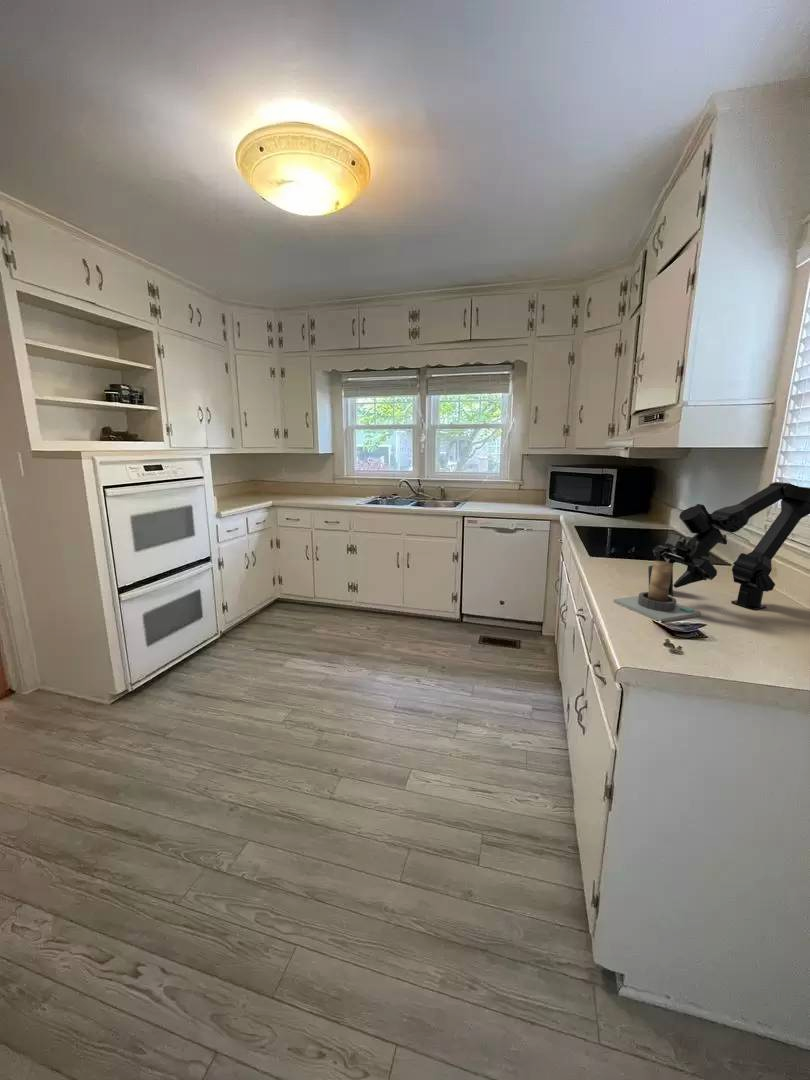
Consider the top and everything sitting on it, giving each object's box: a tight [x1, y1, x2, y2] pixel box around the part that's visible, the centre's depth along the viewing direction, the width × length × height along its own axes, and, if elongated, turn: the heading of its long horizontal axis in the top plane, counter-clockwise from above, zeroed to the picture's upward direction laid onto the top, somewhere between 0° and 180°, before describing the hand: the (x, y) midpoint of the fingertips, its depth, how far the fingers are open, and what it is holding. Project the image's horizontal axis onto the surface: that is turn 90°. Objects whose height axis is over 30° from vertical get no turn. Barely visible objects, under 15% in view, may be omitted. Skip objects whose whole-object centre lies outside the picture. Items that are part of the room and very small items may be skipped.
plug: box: [647, 560, 674, 602], centre depth 125 cm, size 5×5×13 cm
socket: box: [613, 591, 702, 622], centre depth 126 cm, size 16×16×4 cm
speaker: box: [647, 564, 674, 597], centre depth 141 cm, size 8×6×10 cm
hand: (662, 581), depth 125 cm, fingers open, 9 cm apart
